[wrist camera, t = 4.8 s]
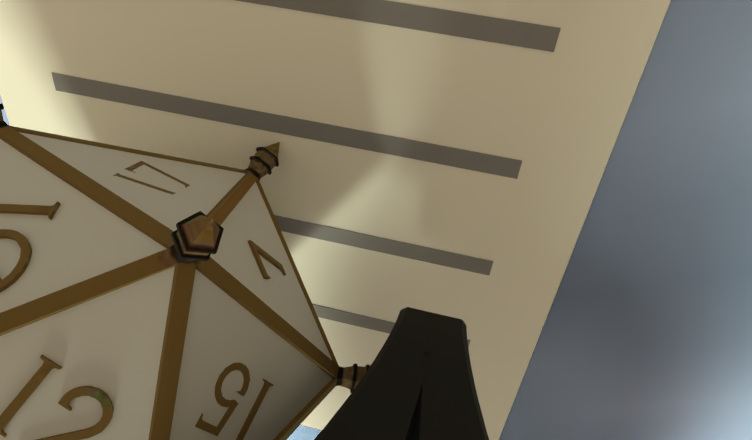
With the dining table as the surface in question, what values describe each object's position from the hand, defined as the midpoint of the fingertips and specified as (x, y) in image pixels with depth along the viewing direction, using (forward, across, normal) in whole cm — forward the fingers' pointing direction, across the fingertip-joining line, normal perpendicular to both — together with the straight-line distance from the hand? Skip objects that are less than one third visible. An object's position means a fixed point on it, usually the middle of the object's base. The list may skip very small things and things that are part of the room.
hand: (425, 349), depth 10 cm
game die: (+2, +6, 0) cm, 6 cm away
